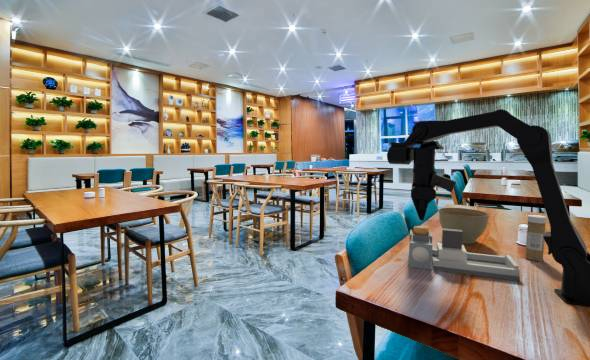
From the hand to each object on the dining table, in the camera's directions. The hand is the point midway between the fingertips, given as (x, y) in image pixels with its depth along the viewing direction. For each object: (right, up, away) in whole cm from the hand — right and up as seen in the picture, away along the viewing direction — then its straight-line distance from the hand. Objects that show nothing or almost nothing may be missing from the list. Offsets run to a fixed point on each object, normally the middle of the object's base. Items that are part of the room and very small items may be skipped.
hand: (421, 218), depth 92 cm
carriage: (+8, -12, -2) cm, 14 cm away
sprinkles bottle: (+36, -13, +3) cm, 38 cm away
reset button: (0, -5, 0) cm, 5 cm away
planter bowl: (+24, -11, +23) cm, 35 cm away
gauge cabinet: (0, -13, +1) cm, 13 cm away
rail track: (+13, -14, -4) cm, 19 cm away
